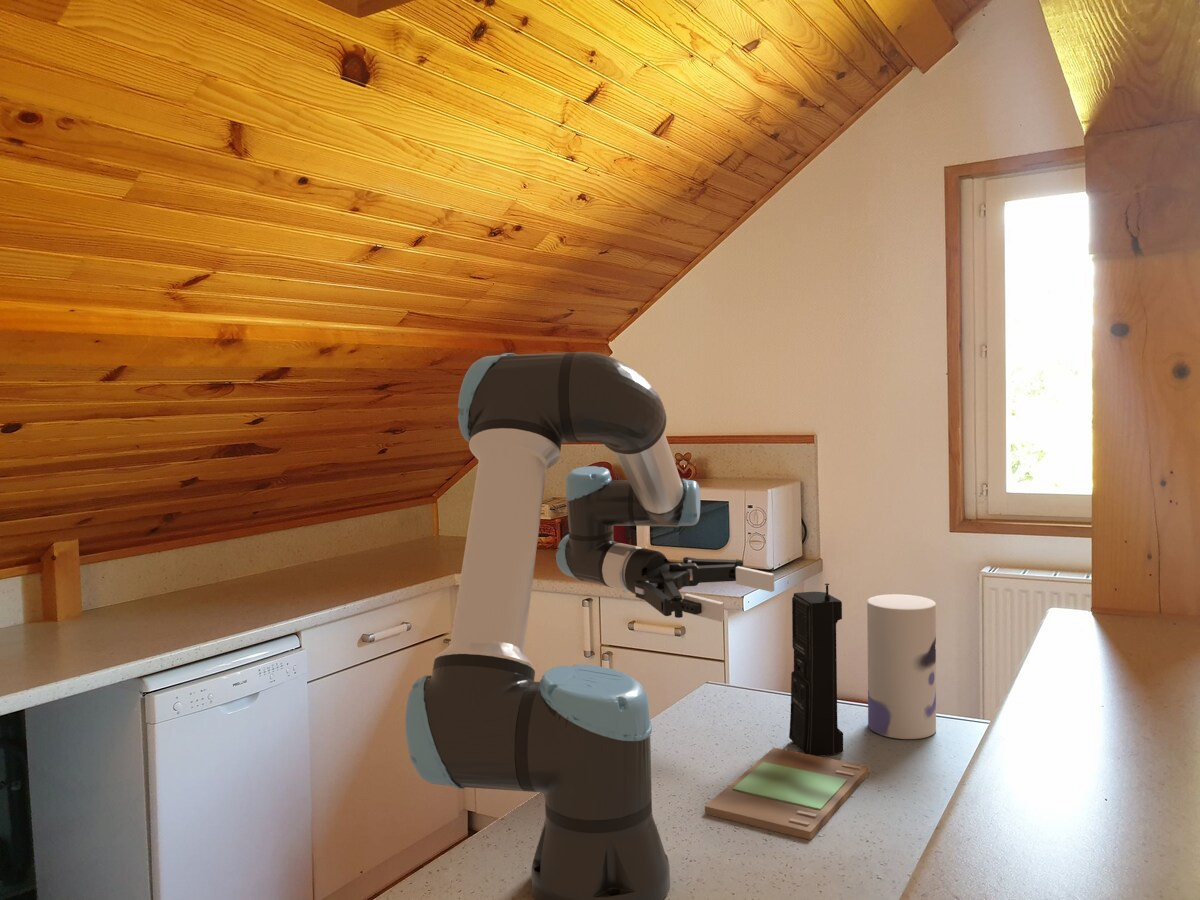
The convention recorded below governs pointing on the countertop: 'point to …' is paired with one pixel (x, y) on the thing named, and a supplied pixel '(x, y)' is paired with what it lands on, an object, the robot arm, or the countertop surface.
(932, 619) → the container
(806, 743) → the portable radio
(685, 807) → the countertop surface
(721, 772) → the countertop surface
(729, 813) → the board
